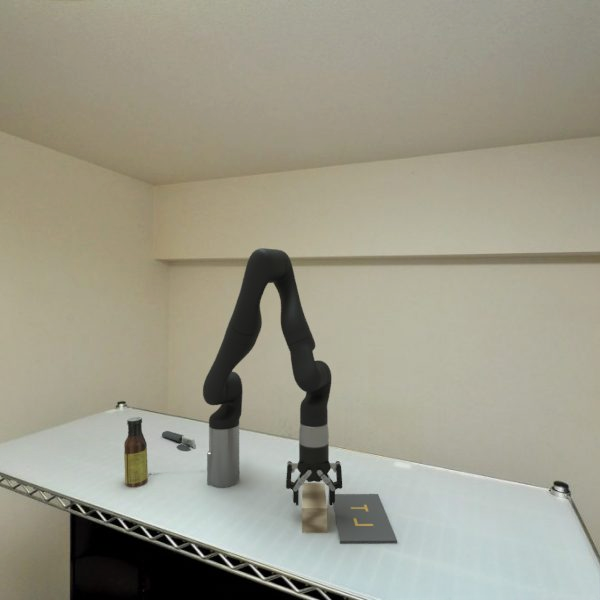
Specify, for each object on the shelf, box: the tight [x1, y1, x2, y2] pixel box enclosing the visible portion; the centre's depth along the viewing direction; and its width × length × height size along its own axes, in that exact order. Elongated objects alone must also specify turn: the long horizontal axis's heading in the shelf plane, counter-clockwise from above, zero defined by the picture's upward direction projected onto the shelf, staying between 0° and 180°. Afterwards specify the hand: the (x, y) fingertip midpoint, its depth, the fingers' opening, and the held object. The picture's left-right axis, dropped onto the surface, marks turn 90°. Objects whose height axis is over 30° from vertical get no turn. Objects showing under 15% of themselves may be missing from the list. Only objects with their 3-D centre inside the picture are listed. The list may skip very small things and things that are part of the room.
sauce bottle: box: [123, 416, 149, 488], centre depth 109 cm, size 7×6×20 cm
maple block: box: [301, 482, 328, 534], centre depth 92 cm, size 6×12×6 cm, turn 179°
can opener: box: [161, 430, 197, 452], centre depth 136 cm, size 19×6×5 cm, turn 52°
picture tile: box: [332, 493, 398, 545], centre depth 92 cm, size 13×20×1 cm, turn 0°
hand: (314, 503), depth 92 cm, fingers open, 8 cm apart
